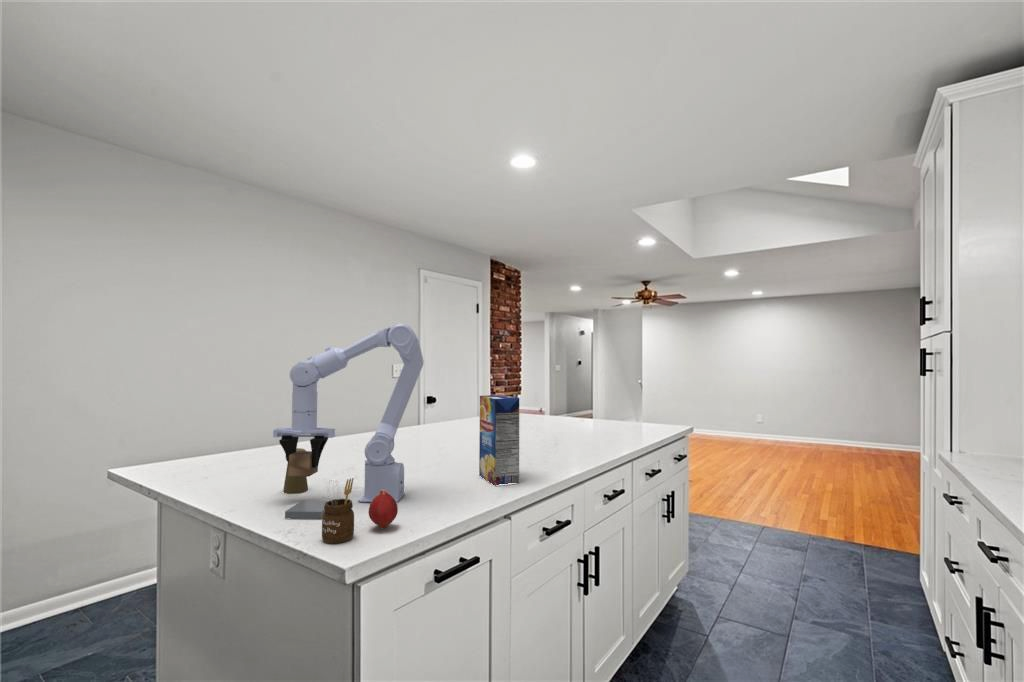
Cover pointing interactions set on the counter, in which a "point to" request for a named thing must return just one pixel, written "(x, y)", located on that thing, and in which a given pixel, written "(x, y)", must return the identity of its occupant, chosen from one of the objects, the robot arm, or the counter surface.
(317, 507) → the slate base
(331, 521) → the utensil holder
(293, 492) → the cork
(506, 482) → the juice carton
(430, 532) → the counter surface
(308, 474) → the walnut cube
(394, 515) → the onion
